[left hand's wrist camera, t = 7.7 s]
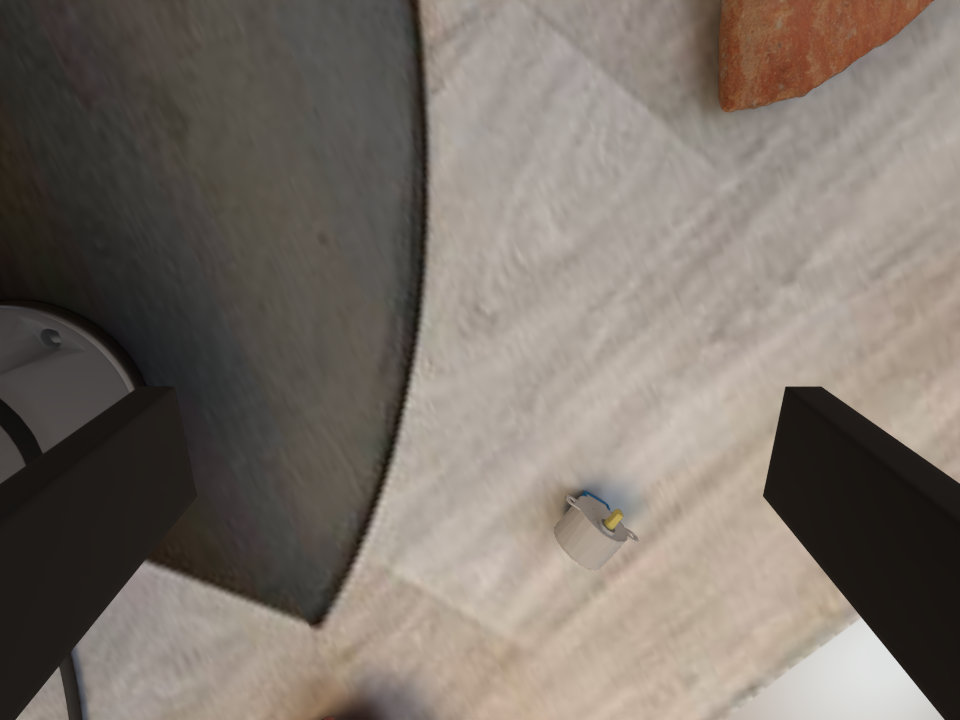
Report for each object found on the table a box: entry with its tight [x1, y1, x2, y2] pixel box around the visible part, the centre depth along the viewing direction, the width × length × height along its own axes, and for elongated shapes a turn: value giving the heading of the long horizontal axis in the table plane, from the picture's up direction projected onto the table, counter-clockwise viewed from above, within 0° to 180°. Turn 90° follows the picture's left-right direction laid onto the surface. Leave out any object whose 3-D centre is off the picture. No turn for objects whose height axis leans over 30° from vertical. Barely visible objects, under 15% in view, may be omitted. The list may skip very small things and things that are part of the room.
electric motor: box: [554, 491, 638, 570], centre depth 43 cm, size 7×5×5 cm
